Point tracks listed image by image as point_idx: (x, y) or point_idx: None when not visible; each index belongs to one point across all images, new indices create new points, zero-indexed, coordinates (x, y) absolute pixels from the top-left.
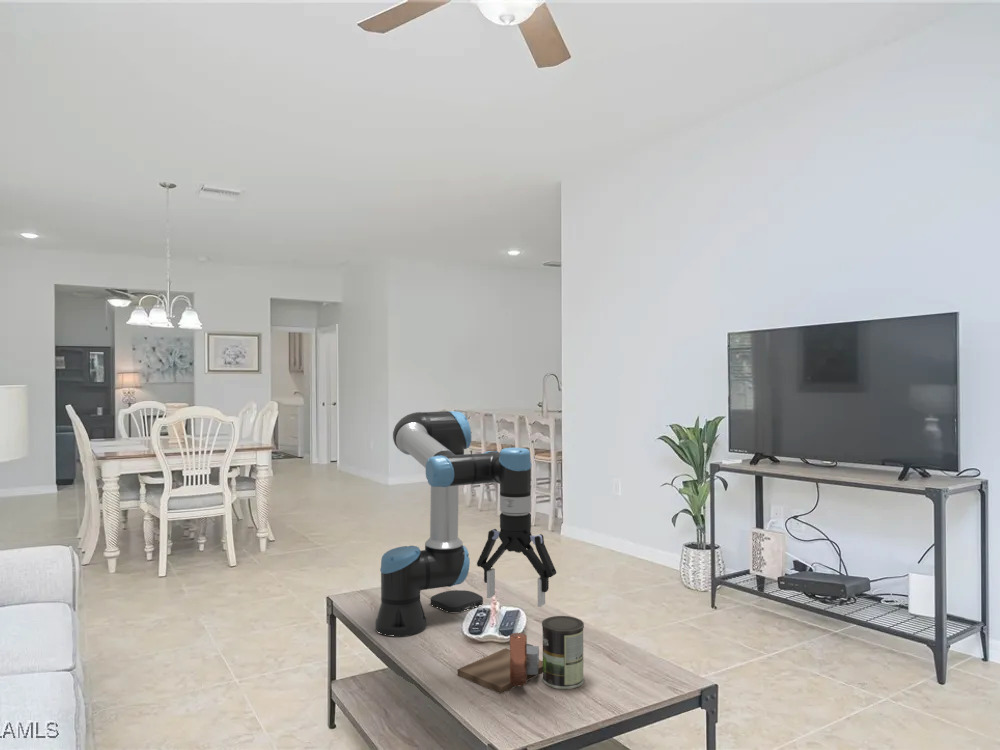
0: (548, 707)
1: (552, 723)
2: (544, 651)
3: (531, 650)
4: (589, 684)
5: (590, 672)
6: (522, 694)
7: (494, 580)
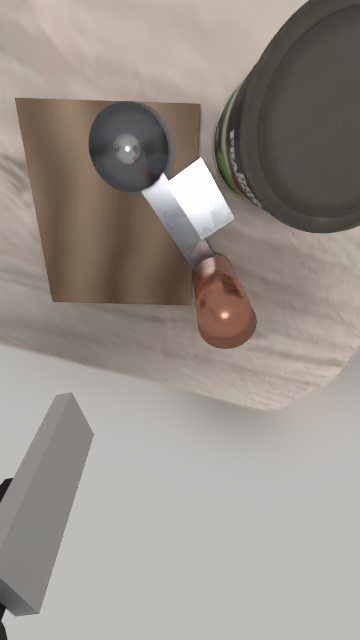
0: (303, 284)
1: (336, 324)
2: (256, 205)
3: (202, 206)
4: None
5: None
6: None
7: (40, 470)
